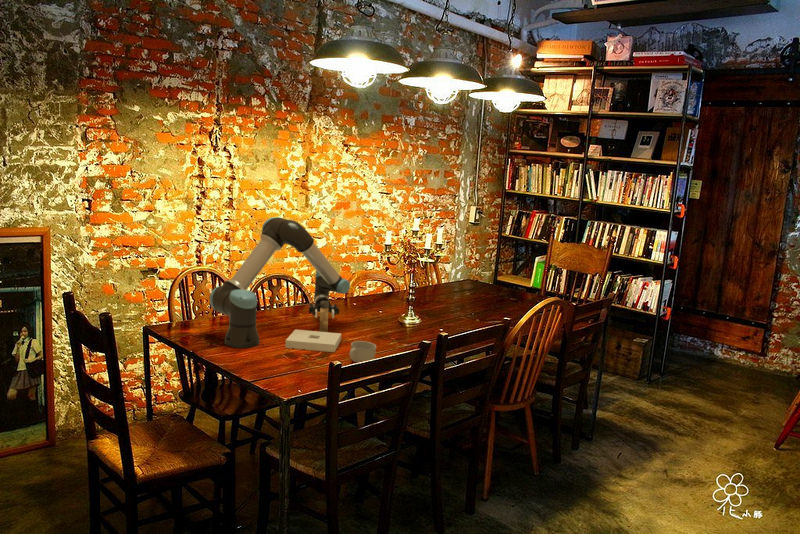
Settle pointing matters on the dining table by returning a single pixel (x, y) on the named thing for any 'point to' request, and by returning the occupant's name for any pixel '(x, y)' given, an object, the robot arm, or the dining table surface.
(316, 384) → the dining table surface
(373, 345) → the teacup
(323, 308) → the plug
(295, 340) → the beige socket block
